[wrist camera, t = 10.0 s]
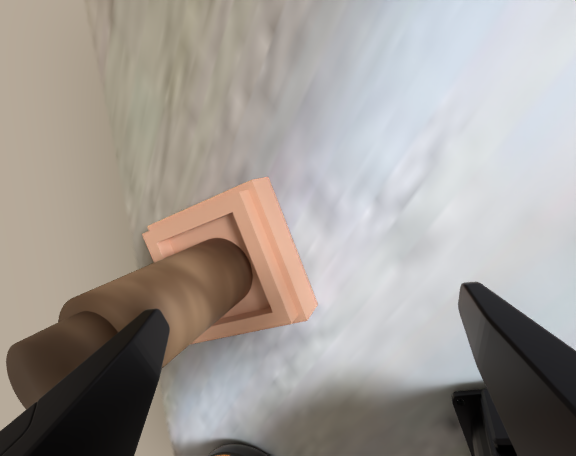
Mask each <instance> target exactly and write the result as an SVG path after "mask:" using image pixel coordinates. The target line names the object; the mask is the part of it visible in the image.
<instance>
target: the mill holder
mask: <svg viewBox="0 0 576 456" xmlns="http://www.w3.org/2000/svg"><path fill="white" fill-rule="evenodd" d="M147 227H148V230H149V231H148V232H146V233H143V234H142V235H143V238H144V240H145V242H146V245H147V247H148V249H149V252H150V254H151V256H152V259H153V261H154V263H155V262H157V261H159V260H162V259H164V258H166V257H169V256H171V255H173V254H175V253H178V252H180V251H182V250H185V249H187V248H189V247H192V246H194V245H196V244H199V243H201V242H203V241H205V240H208V239H211V238H223V239H227V240H229V241H231V242H233V243H234V244H236V245H237V246H238V247H240V249H241V250H242V251H243V252H244V253H245V255H246V256H247V258H248V260H249V262H250V265H251V268H252V274H253V281H252V286H251V289H250V291H249V293H248V294H247V295H246V297H245V298H243V299H242V300H241V301H240V302H239V303H238V304H236V305H235V306H234V307H233V308H232V309H231V310H229V311H228V312H227V313H226V314H225V315H224V316H222V317H221V318H220V319H219V320H218V321H217V322H215V323H214V324H213V325H212V326H211V327H210V328H208V329H207V330H206V331H205V332H204V333H203V334H201V335H200V336H199V337H198V338H197V339H196V340H194V341H193V342H192V343H191V344H194V343H199V342H204V341H209V340H214V339H219V338H224V337H229V336H234V335H239V334H244V333H249V332H254V331H259V330H264V329H269V328H274V327H279V326H284V325H288V324H293V323H298V322H303V321H307V320H308V319H309V317H310V316H311V314H312V313H313V311H314V310H315V308H316V307H317V305H318V303H317V301H316V298H315V296H314V293H313V290H312V288H311V285H310V283H309V280H308V278H307V275H306V272H305V270H304V267H303V265H302V262H301V260H300V257H299V255H298V252H297V249H296V247H295V244H294V242H293V239H292V237H291V234H290V231H289V229H288V226H287V224H286V221H285V219H284V216H283V213H282V211H281V208H280V206H279V203H278V201H277V198H276V195H275V193H274V190H273V188H272V185H271V183H270V180H269V177H264V178H258V179H253V180H250V181H248V182H245V183H243V184H241V185H239V186H236V187H234V188H232V189H230V190H228V191H225V192H223V193H221V194H219V195H216V196H214V197H212V198H210V199H207V200H205V201H203V202H201V203H198V204H196V205H194V206H192V207H189V208H187V209H185V210H183V211H180V212H178V213H176V214H174V215H171V216H169V217H167V218H165V219H162V220H160V221H158V222H156V223H153V224H151V225H149V226H147Z"/></svg>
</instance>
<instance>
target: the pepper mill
mask: <svg viewBox="0 0 576 456" xmlns="http://www.w3.org/2000/svg"><path fill="white" fill-rule="evenodd" d="M252 281H253V274H252V268H251V265H250V262H249V260H248V258H247V256H246V255H245V253H244V252H243V251H242V250H241V249H240V247H238V246H237V245H236V244H234V243H233V242H231V241H229V240H227V239H223V238H211V239H208V240H205V241H203V242H201V243H199V244H196V245H194V246H192V247H189V248H187V249H185V250H182V251H180V252H178V253H175V254H173V255H171V256H169V257H166V258H164V259H162V260H159V261H157V262H155V263H152V264H150V265H148V266H145V267H143V268H141V269H139V270H136V271H134V272H132V273H129V274H127V275H125V276H122V277H120V278H118V279H116V280H113V281H111V282H109V283H106V284H104V285H102V286H99V287H97V288H95V289H92V290H90V291H88V292H86V293H83V294H81V295H79V296H76V297H74V298H72V299H70V300H69V301H67V302H66V303H65V304H64V306H63V308H62V310H61V312H60V315H59V321H58V323H56V324H55V325H52V326H50V327H48V328H46V329H44V330H42V331H40V332H38V333H36V334H34V335H32V336H30V337H28V338H25V339H23V340H22V341H19V342H17V343H15V344H14V345H12V346H11V347H10V349H9V351H8V354H7V359H6V364H7V372H8V376H9V380H10V382H11V385H12V387H13V390H14V392H15V394H16V395H17V397H18V399H19V400H20V402H21V403H22V405H23V406H24V407H25V408H26V410H27V409H28V408H29V407H30V406H31V405H32V404H34V403H35V402H38V400H39V399H40V398H41V397H42V396H43V395H44V394H46V393H47V392H48V391H49V390H50V389H52V388H53V387H54V386H55V385H56V384H57V383H59V382H60V381H61V380H62V379H63V378H65V377H66V376H67V375H68V374H69V373H71V372H72V371H73V370H74V369H75V368H76V367H78V366H79V365H80V364H81V363H82V362H84V361H85V360H86V359H87V358H88V357H90V356H91V355H92V354H93V353H94V352H95V351H97V350H98V349H99V348H100V347H101V346H103V345H104V344H105V343H106V342H107V341H109V340H110V339H111V338H112V337H113V336H114V335H116V334H117V333H118V332H119V331H120V330H122V329H123V328H124V327H125V326H126V325H128V324H129V323H130V322H131V321H132V320H133V319H135V318H136V317H137V316H138V315H139V314H141V313H142V312H143V311H144V310H146V309H154V308H157V309H159V310H161V312H162V314H163V315H164V317H165V319H166V320H167V322H168V324H169V327H170V333H169V338H168V342H167V347H166V351H165V356H164V360H163V365H162V368H163V367H164V366H165V365H166V364H167V363H169V362H170V361H171V360H172V359H173V358H174V357H176V356H177V355H178V354H179V353H180V352H182V351H183V350H184V349H185V348H186V347H187V346H189V345H190V344H191V343H192V342H193V341H194V340H196V339H197V338H198V337H199V336H200V335H201V334H203V333H204V332H205V331H206V330H207V329H208V328H210V327H211V326H212V325H213V324H214V323H215V322H217V321H218V320H219V319H220V318H221V317H222V316H224V315H225V314H226V313H227V312H228V311H229V310H231V309H232V308H233V307H234V306H235V305H236V304H238V303H239V302H240V301H241V300H242V299H243V298H245V297H246V295H247V294H248V293H249V291H250V289H251V286H252Z"/></svg>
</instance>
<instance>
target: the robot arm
mask: <svg viewBox="0 0 576 456" xmlns="http://www.w3.org/2000/svg"><path fill="white" fill-rule="evenodd" d="M458 308H459V313H460V316H461V319H462V322H463V325H464V328H465V331H466V334H467V338H468V341H469V344H470V347H471V350H472V353H473V356H474V359H475V362H476V365H477V367H478V370H479V372H480V374H481V376H482V379H483V381H484V383H485V385H486V387H487V389H482V390H470V391H458V392H455V393H453V395H452V401H453V405H454V408H455V411H456V414H457V416H458V419H459V422H460V425H461V427H462V430H463V433H464V436H465V438H466V441H467V444H468V447H469V449H470V452H471V455H472V456H576V351H575V350H574V349H573V348H571V347H570V346H568V345H567V344H565V343H564V342H563V341H561V340H560V339H558V338H557V337H556V336H554V335H553V334H551V333H550V332H549V331H547V330H546V329H544V328H543V327H541V326H540V325H539V324H537V323H536V322H534V321H533V320H532V319H530V318H529V317H527V316H526V315H525V314H523V313H522V312H520V311H519V310H518V309H516V308H515V307H513V306H512V305H510V304H509V303H508V302H506V301H505V300H503V299H502V298H501V297H499V296H498V295H496V294H495V293H494V292H492V291H491V290H489V289H488V288H487V287H485V286H484V285H482V284H481V283H479V282H467V283H462V284H461V287H460V294H459V302H458ZM169 333H170V327H169V324H168V322H167V320H166V319H165V317H164V315H163V314H162V312H161V310H159V309H157V308H154V309H146V310H144V311H143V312H142V313H141V314H139V315H138V316H137V317H136V318H135V319H133V320H132V321H131V322H130V323H129V324H128V325H126V326H125V327H124V328H123V329H122V330H120V331H119V332H118V333H117V334H116V335H114V336H113V337H112V338H111V339H110V340H109V341H107V342H106V343H105V344H104V345H103V346H101V347H100V348H99V349H98V350H97V351H95V352H94V353H93V354H92V355H91V356H90V357H88V358H87V359H86V360H85V361H84V362H82V363H81V364H80V365H79V366H78V367H76V368H75V369H74V370H73V371H72V372H71V373H69V374H68V375H67V376H66V377H65V378H63V379H62V380H61V381H60V382H59V383H57V384H56V385H55V386H54V387H53V388H52V389H50V390H49V391H48V392H47V393H46V394H44V395H43V396H42V397H41V398H40V399H39V400H38V402H35V403H34V404H32V405H31V406H30V407H29V408H28V409H27V410H25V411H24V412H23V413H22V414H21V415H20V416H18V417H17V418H16V419H15V420H14V421H12V422H11V423H10V424H9V425H7V426H6V427H5V428H4V429H2V430H1V431H0V456H134V454H135V451H136V448H137V445H138V442H139V439H140V436H141V433H142V430H143V427H144V424H145V421H146V418H147V415H148V412H149V408H150V405H151V403H152V399H153V396H154V393H155V390H156V387H157V384H158V381H159V377H160V373H161V369H162V365H163V360H164V356H165V351H166V347H167V342H168V338H169ZM458 399H462V400H464V401H462V402H460V401H458Z"/></svg>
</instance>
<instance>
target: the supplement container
mask: <svg viewBox="0 0 576 456" xmlns="http://www.w3.org/2000/svg"><path fill="white" fill-rule="evenodd" d="M208 456H268V455H266V454H265V453H263V452H261V451H259V450H257V449H255V448H252V447H249V446H246V445H241V444H227V445H223V446H220V447H218V448H216V449H215V450H213V451H212V452H211V453H210V454H209V455H208Z"/></svg>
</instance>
